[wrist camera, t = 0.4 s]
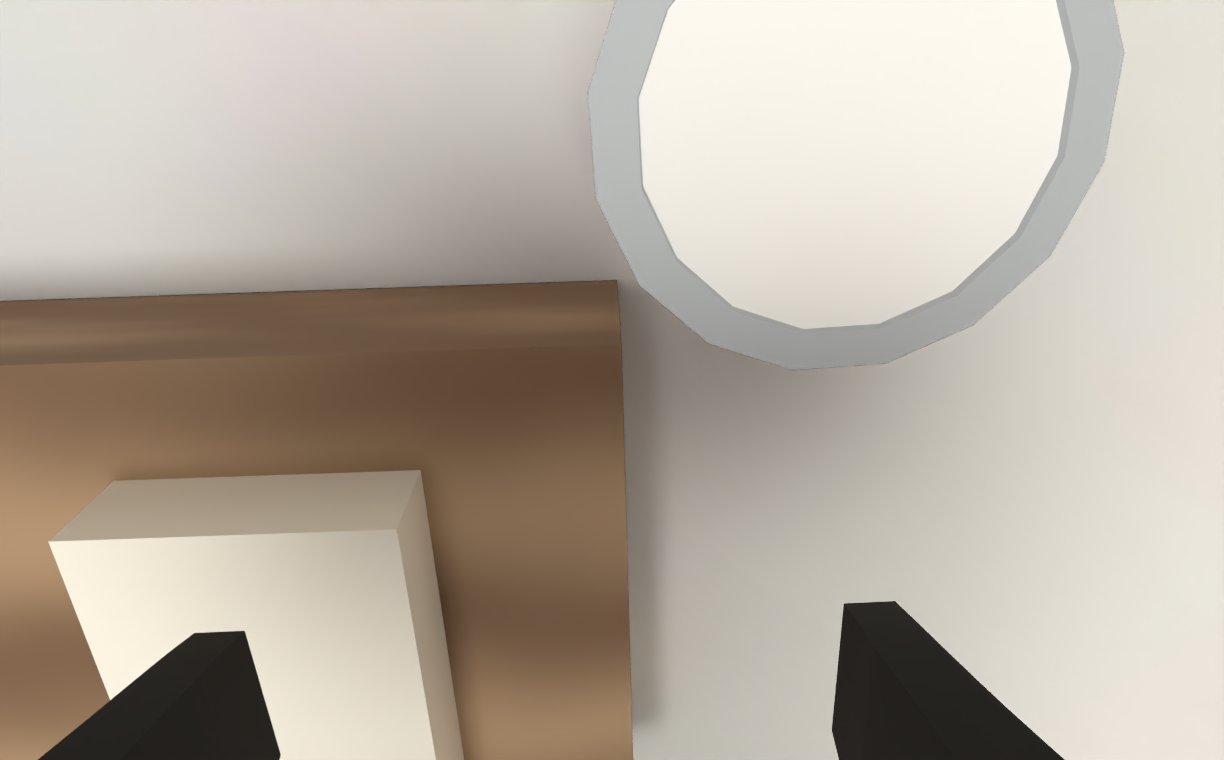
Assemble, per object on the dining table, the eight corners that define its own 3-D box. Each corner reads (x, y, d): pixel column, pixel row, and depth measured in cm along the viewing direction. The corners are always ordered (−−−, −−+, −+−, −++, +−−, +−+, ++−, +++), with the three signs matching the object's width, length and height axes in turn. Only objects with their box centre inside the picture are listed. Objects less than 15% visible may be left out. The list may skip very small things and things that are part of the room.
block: (468, 791, 19) (455, 872, 17) (221, 799, 19) (181, 881, 17) (420, 469, 15) (396, 529, 14) (113, 480, 15) (48, 541, 14)
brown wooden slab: (629, 727, 24) (635, 854, 20) (33, 748, 24) (-70, 879, 20) (616, 280, 18) (621, 343, 14) (-170, 307, 18) (-366, 377, 14)
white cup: (713, 309, 18) (774, 457, 12) (522, 57, 16) (472, 77, 10) (977, 121, 17) (1212, 177, 10) (807, -188, 14) (974, -361, 8)
